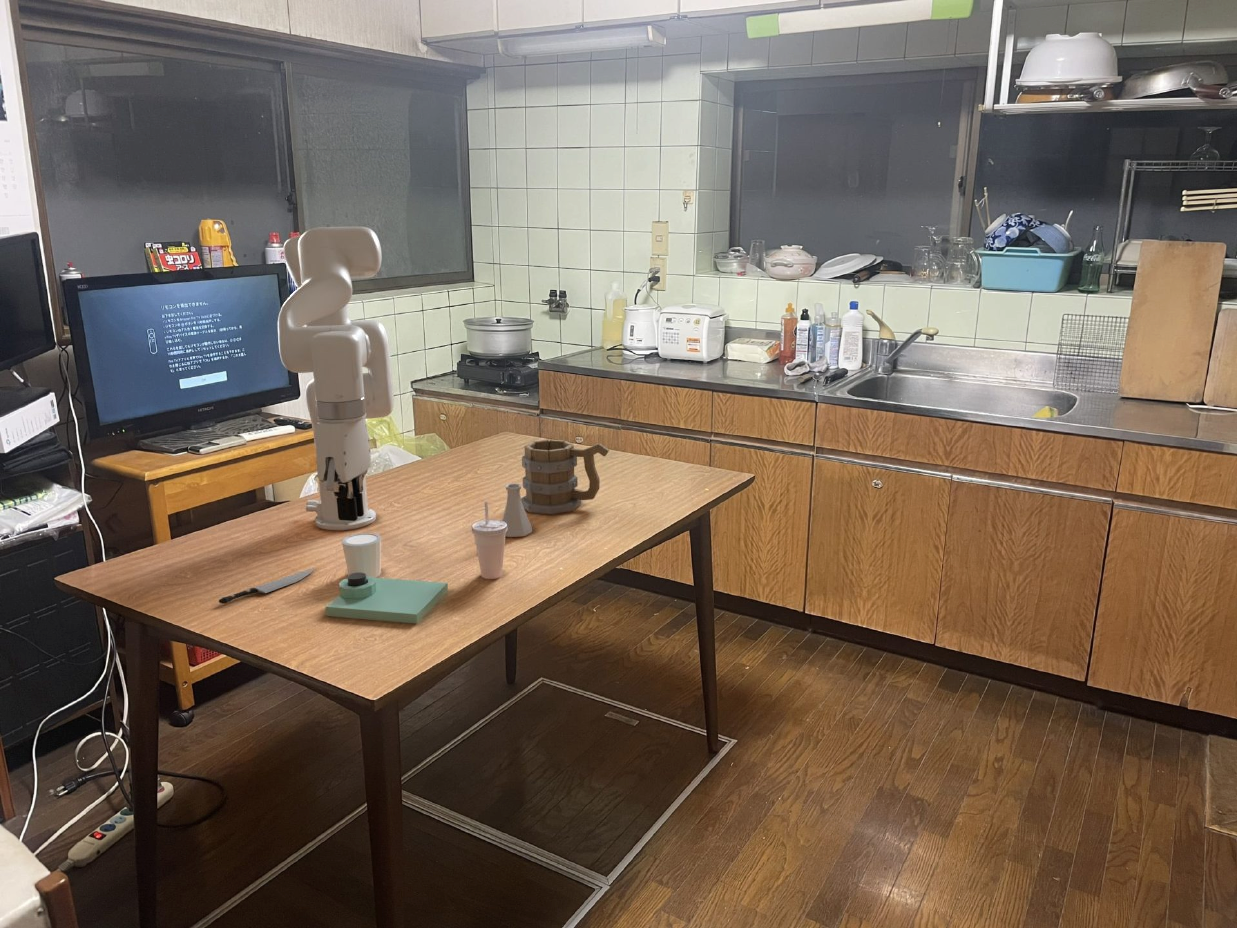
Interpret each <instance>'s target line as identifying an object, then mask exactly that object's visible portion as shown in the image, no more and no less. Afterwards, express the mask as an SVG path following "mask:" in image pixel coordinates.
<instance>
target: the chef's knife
mask: <svg viewBox="0 0 1237 928" xmlns="http://www.w3.org/2000/svg"><path fill="white" fill-rule="evenodd" d="M313 570H314V568H310V569H307V570H304V571H303V570H302V571H300V572H297V573H294V574H291V575H288V576H285V577H281V578H279V579H276V580H273V581H270V582H267V583H264V584H260V585H258V586H255V587H251V588H248V589H245V590H241V591H239V592H236V593H234V594H231V595H227V596H223V597H221V598H220V599H218V603H219V604H227V603H229V602H231V601H233V600H236V599H239V598H242V597H245V596H249V595H253V594H256V593H260V594H267V593H270V592H272V591H276V590H278V589H281V588H284V587H286V586H289V585H292V584H295V583H297V582H299V581H301V580H303V579H304V578H306V577H307V576H309V575H310V574H311V573H312V572H313Z"/></svg>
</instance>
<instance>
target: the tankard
mask: <svg viewBox="0 0 1237 928" xmlns="http://www.w3.org/2000/svg"><path fill="white" fill-rule="evenodd" d="M523 448H524V455H522V456H521V467H522V468H523V469H524V471H525V472H524V477H523V478H522V488H523V489H524V490H525V496H523V497H521V501H522V504H523V507H524V510H525V511H527V512H528V513H531V514H541V515H550V516H551V515H557V514H563V513H570V512H573V511H574V510H575V509H577V508H578V507H579V506H580V505H582V501H590V500H591V501H592V500H594V499H595V498H596V496H597V494H598V492H599V490H600V477H599V474H598V471H597V468H596V464H595V455H597V454H599V455H601V456H602V457H606V456H607V455H608V453H609V452H610V449H609V448H608V447H606V446H605V445H603V444H601V442H598V443H596V444H594V445H591V446H589V447H586V448H584V449H583V448H576V447H575V445H574V444H573V443H571V442H569V441H567V440H562V439H542V440H534V441H531V442H529V443H527V444H525V445H524V447H523ZM578 458H583V465H584V470H585V473H586V475H587V477H588V481H589V482H588V483H589V484H588V485H589V486H588V489H587V490H582V489H578V488H577V487H578V476H577V475H575V468H576V467H577V466H578Z"/></svg>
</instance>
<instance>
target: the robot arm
mask: <svg viewBox="0 0 1237 928" xmlns="http://www.w3.org/2000/svg"><path fill="white" fill-rule="evenodd" d="M282 250H283V252H282V253H283V258H284V262H285V265H286V268H287V271H288V273H289V275H290V277H291V280H292V281H293V283H294V285H295V287H296V289H295V290H294V291H293V293H291V294H290V295H289V297H287V299H286V300H285V302H284V303H283V304H282V306H281V308H280V310H279V312H278V313H279V314H278V317H277V339H278V350H279V356H280V360H281V363H282V365H283V366H284V368H285V369H287V370H288V371H290V372H291V373H295V374H309V373H312V375H313V379H311V380H310V381H309V382H308V383H307V385H306V386H305V391H304V396H305V403H306V406H307V407H306V408H307V412H308V414H309V419H310V423H311V427H312V434H313V441H314V448H315V450H314V451H315V457H316V472H317V474H316V475H317V479H318V487H319V497H320V498H319V499H320V500H316V499H308V500H307V501H306V503H305V505H306V507H305V511H306V512H310V513H314V512H315V513H316V517H314V524H315V526H316V527H317V528H319V529H322V530H328V531H347V530H354V529H359V528H364V527H366V526H369V525H370V524H372V523H374V522H375V521H376V520H377V514H376V511H375V510H373V509H371V508H369V505H368V504H369V503H368V493H367V492H368V491H367V482H366V481H367V480H366V475H367V473H368V472H369V469H370V468H371V465H372V455H371V443H370V437H369V430H368V425H367V420H369V419H370V420H371V419H379V418H385V417H388V416H389V415H391V414H392V412H393V410H394V404H395V402H394V401H395V399H394V397H395V395H394V385H393V373H392V363H391V350H390V344H389V337H388V334H387V330H386V328H385V327H384V325H383V324H382V323H381V322H379V321H377V320H373V319H372V320H371V319H367V320H366V319H362V320H351V319H350V317H349V307H348V304H349V303H350V301H351V299H352V296H353V293H354V292H353V291H354V289H353V283H352V279H369V278H372V277H375V275H377V274H378V273H379V270H380V269H381V266H382V260H383V258H382V257H383V256H382V255H383V254H382V247H381V242H380V240H379V237H378V235H377V233H376V232H375V231H374V230H372V229H371V228H369V227H367V226H320V227H313V228H310V229H307V230H306V231H305V232H303V233H302V234H301V235H295V236H292V237H290V238H289V239H287V240H286V241H284V244H283V249H282ZM363 368H366V369H367V370H368V371H369V372H363Z"/></svg>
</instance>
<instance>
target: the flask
mask: <svg viewBox="0 0 1237 928" xmlns="http://www.w3.org/2000/svg"><path fill="white" fill-rule="evenodd" d="M521 489H522V484H519V483H509V484H506V485H505V490H506V492H507V495H506V496H507V497H506V503H505V507H504V511H503V515H502V517H501V519H500V521H503V522H505V523H506V524H507V529H508V530H507V531H506V532H505V537H509V538H512V537H515V538H516V537H525V536H527V535H530V534H531V533H533V527H532V524H531V522H530V519H529V517H528V515H527V512H526V509H525V508H524V507H523V504H522V501H521V498H522V497H521Z"/></svg>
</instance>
